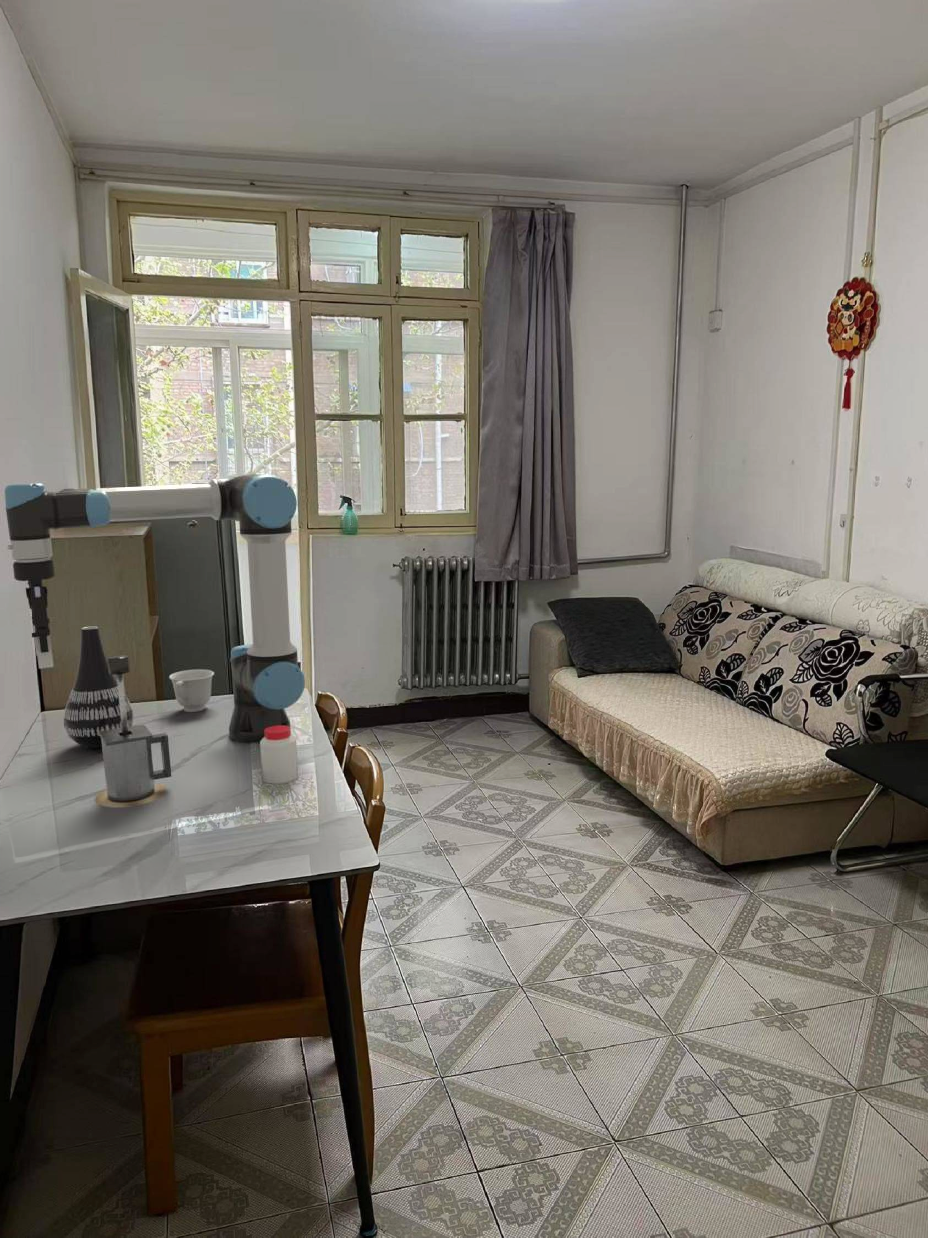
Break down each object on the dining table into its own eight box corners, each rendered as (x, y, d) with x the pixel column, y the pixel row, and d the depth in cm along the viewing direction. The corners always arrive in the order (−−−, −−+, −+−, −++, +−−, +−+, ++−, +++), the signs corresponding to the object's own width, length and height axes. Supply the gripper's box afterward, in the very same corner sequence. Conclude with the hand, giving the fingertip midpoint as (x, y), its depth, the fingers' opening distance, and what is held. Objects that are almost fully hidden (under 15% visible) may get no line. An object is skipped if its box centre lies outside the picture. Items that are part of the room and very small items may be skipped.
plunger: (141, 742, 194) (133, 652, 190) (148, 751, 188) (140, 658, 184) (105, 748, 190) (96, 656, 187) (111, 758, 184) (102, 663, 181)
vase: (136, 732, 236) (125, 619, 231) (135, 751, 221) (123, 630, 216) (69, 740, 231) (56, 624, 226) (63, 759, 217) (50, 636, 211)
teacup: (158, 718, 249) (155, 682, 247) (184, 703, 263) (181, 668, 261) (200, 719, 247) (197, 682, 245) (223, 703, 261) (221, 669, 259)
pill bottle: (305, 774, 203) (302, 725, 201) (284, 785, 196) (281, 736, 194) (276, 769, 206) (273, 722, 204) (255, 781, 199) (251, 732, 197)
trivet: (159, 781, 200) (159, 777, 200) (173, 801, 188) (173, 798, 188) (90, 794, 194) (90, 790, 193) (101, 816, 182) (100, 812, 181)
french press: (166, 780, 199) (161, 721, 196) (176, 793, 191) (170, 732, 188) (104, 792, 192) (98, 731, 190) (111, 806, 185) (105, 743, 182)
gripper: (11, 555, 198) (23, 652, 202) (13, 567, 176) (26, 675, 180) (49, 552, 201) (60, 648, 205) (56, 564, 179) (68, 670, 183)
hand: (44, 661), depth 192 cm, fingers open, 13 cm apart
